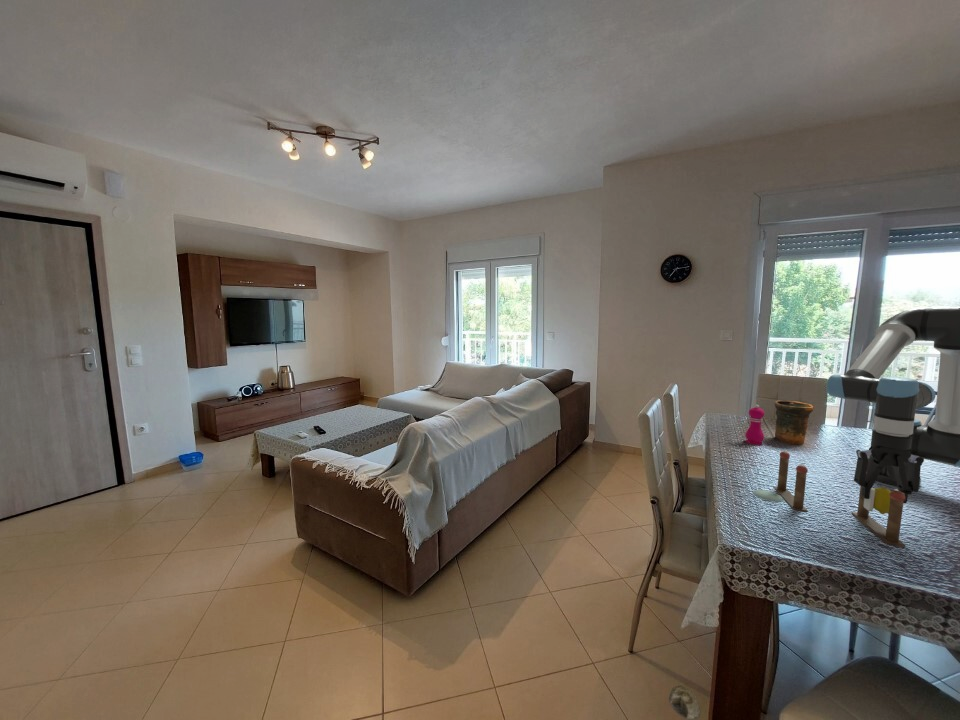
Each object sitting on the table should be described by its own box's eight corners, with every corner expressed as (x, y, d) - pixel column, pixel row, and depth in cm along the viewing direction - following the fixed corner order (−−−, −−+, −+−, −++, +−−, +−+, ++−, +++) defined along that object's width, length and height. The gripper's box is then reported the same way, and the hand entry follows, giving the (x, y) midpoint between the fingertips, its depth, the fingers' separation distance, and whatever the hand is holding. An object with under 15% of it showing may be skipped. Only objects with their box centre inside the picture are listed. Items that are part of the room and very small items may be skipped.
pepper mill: (759, 443, 181) (763, 403, 179) (765, 448, 174) (769, 406, 172) (742, 442, 183) (745, 402, 181) (747, 447, 176) (750, 405, 174)
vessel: (812, 450, 171) (817, 408, 169) (773, 445, 179) (777, 404, 176) (806, 442, 183) (810, 402, 181) (769, 437, 191) (773, 399, 188)
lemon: (863, 510, 109) (864, 484, 108) (880, 508, 110) (881, 482, 109) (885, 520, 104) (886, 492, 103) (902, 518, 104) (904, 490, 103)
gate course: (842, 497, 127) (847, 456, 125) (904, 547, 99) (911, 495, 98) (773, 488, 133) (776, 449, 132) (813, 532, 106) (818, 483, 104)
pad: (777, 493, 130) (777, 492, 130) (786, 504, 122) (787, 502, 122) (750, 490, 132) (750, 488, 132) (757, 500, 125) (758, 498, 125)
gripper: (926, 432, 104) (915, 510, 107) (842, 425, 111) (834, 499, 113) (948, 440, 97) (936, 523, 100) (857, 433, 104) (848, 511, 106)
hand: (882, 510), depth 107 cm, fingers closed on lemon, 5 cm apart
